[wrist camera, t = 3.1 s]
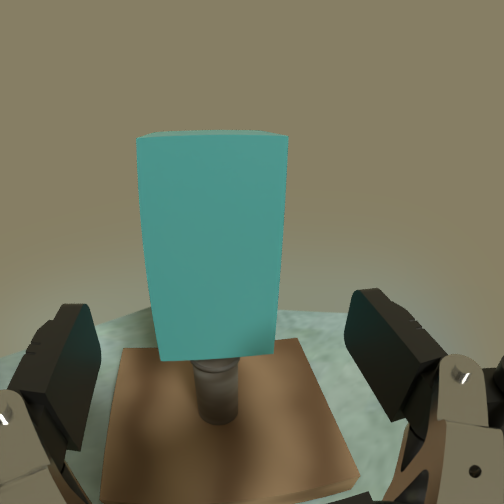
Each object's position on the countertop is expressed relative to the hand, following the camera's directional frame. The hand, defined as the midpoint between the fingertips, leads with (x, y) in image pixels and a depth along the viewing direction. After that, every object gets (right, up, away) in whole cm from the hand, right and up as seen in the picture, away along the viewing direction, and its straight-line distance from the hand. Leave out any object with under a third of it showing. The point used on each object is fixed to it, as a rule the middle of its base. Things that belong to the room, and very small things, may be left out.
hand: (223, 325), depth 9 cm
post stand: (-2, -12, +14) cm, 19 cm away
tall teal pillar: (-1, -2, +10) cm, 10 cm away
